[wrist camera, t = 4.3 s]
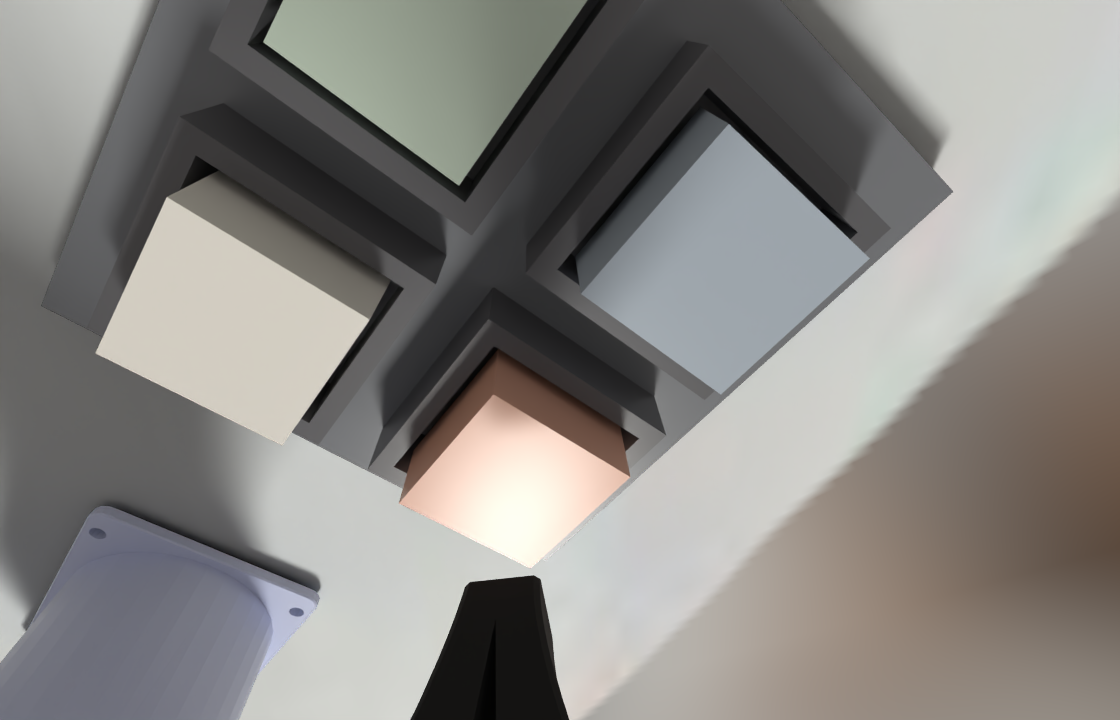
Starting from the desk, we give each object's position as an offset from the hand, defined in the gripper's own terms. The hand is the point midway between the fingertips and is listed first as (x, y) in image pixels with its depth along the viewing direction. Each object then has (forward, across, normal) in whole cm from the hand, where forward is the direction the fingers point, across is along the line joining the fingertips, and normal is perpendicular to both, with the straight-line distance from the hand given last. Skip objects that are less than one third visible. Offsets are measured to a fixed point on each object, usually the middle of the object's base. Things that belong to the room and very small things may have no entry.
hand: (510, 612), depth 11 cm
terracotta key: (+5, 0, 0) cm, 5 cm away
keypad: (+8, 0, -5) cm, 9 cm away
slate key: (+5, -5, -5) cm, 9 cm away
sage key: (+6, 0, -10) cm, 12 cm away
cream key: (+5, +5, -5) cm, 9 cm away
